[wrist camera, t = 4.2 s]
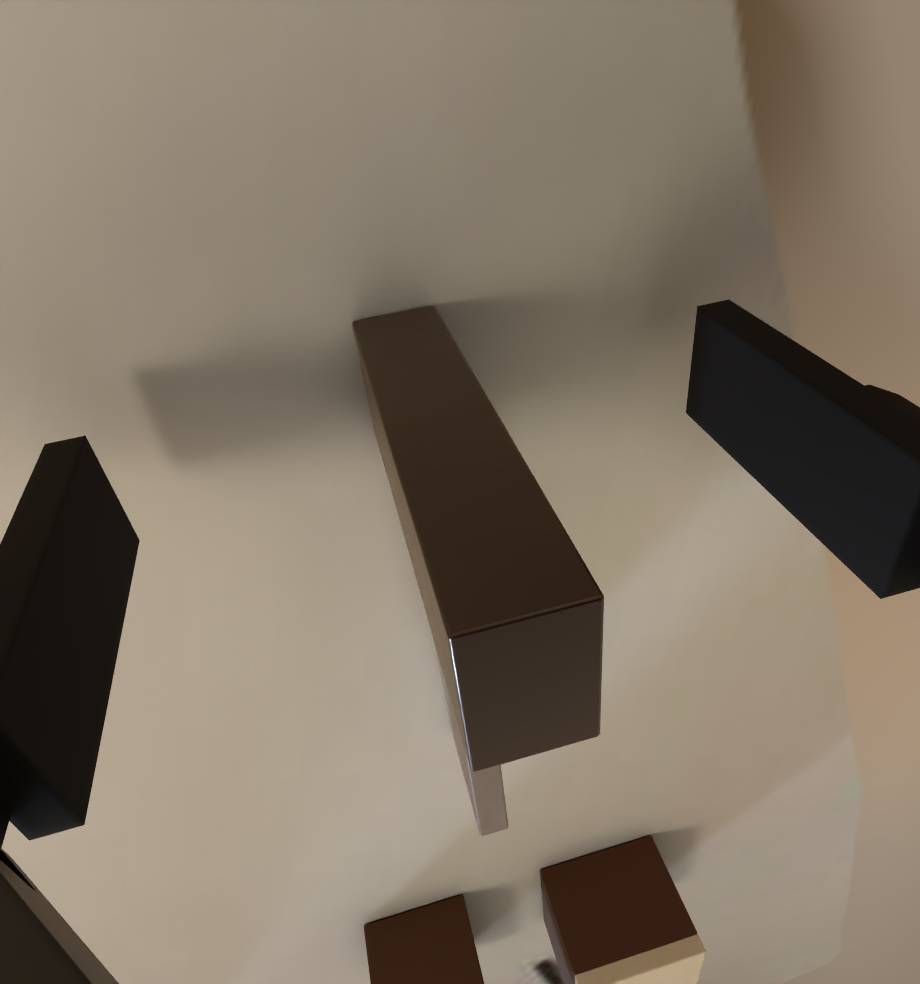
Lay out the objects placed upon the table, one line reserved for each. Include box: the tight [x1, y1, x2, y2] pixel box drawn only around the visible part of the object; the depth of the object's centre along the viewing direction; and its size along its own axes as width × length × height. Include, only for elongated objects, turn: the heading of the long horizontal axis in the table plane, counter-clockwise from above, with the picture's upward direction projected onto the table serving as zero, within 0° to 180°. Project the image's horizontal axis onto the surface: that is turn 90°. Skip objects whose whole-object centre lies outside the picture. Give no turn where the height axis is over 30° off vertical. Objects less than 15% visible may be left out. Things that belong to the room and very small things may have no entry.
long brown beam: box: [352, 306, 604, 836], centre depth 17 cm, size 2×17×10 cm, turn 6°
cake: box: [540, 836, 706, 984], centre depth 35 cm, size 6×6×6 cm
